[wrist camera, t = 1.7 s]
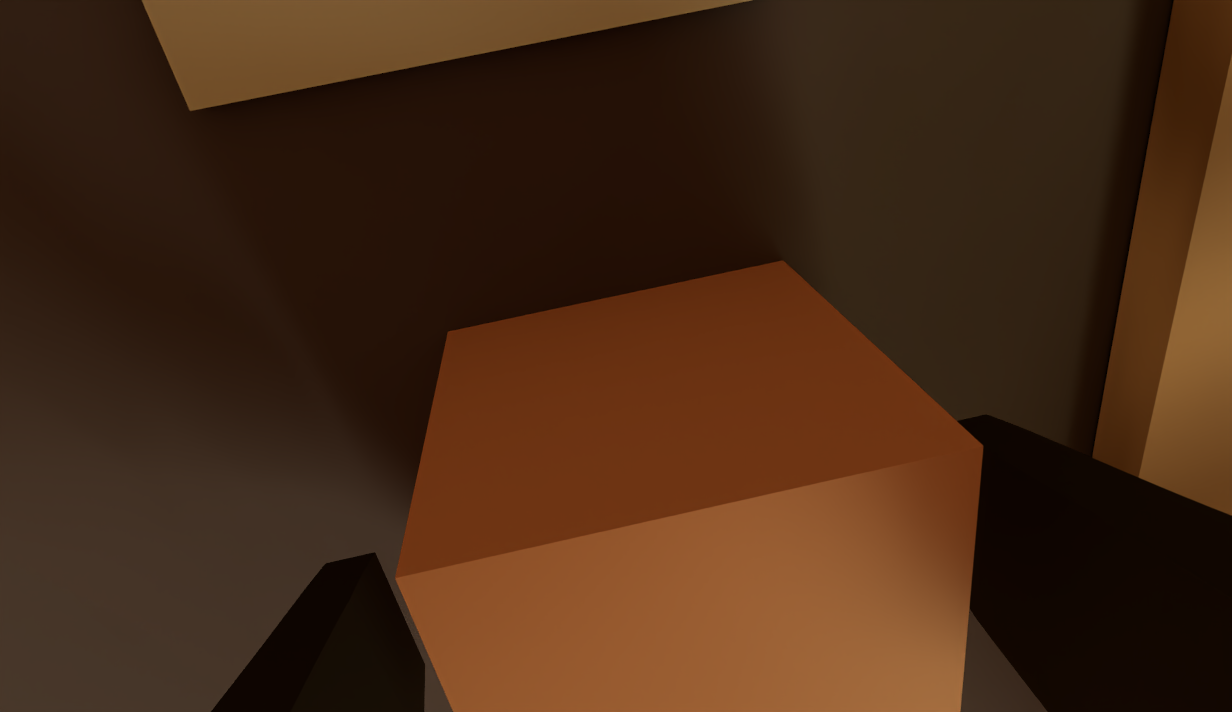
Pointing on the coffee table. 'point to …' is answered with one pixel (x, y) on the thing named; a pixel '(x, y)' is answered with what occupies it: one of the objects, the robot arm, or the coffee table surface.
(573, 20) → the card
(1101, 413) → the plate
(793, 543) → the terracotta cube
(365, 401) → the coffee table surface
